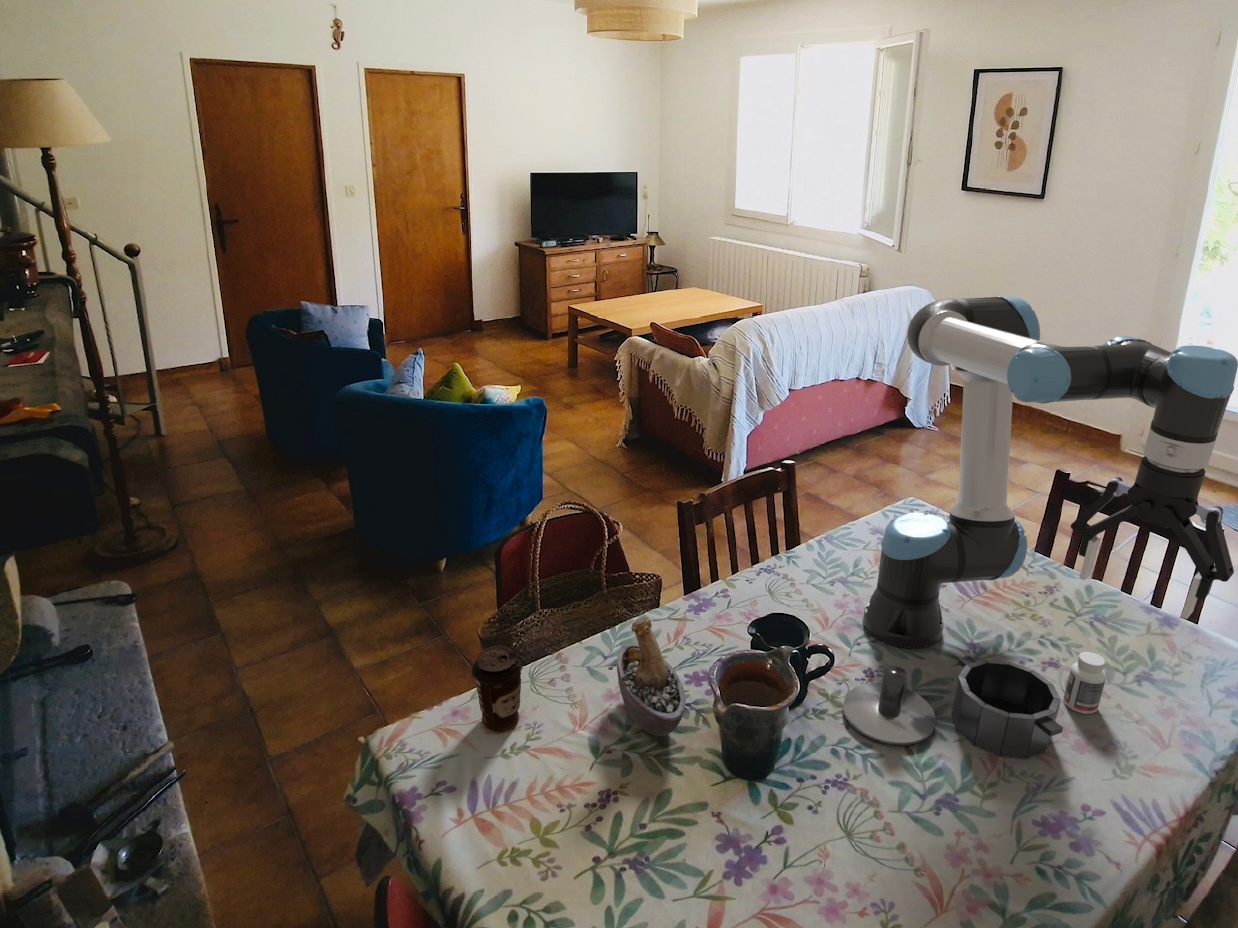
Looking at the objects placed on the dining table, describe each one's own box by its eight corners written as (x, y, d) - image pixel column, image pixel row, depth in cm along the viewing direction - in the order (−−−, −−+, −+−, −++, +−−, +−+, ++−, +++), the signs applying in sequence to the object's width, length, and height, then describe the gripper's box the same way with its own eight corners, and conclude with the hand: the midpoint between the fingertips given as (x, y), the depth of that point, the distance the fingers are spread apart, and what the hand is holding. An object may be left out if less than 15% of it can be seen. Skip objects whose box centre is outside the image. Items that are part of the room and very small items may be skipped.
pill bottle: (1103, 707, 146) (1116, 661, 142) (1086, 719, 143) (1099, 672, 140) (1073, 690, 150) (1085, 645, 146) (1056, 701, 148) (1067, 655, 144)
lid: (825, 702, 148) (830, 657, 144) (895, 681, 153) (901, 637, 149) (879, 758, 135) (887, 711, 131) (953, 734, 140) (962, 687, 137)
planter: (628, 679, 154) (627, 585, 146) (711, 709, 146) (716, 611, 138) (585, 727, 142) (582, 627, 134) (673, 762, 135) (676, 659, 127)
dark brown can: (536, 713, 146) (532, 650, 141) (511, 743, 139) (506, 679, 134) (493, 699, 149) (488, 638, 144) (466, 728, 142) (460, 665, 137)
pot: (924, 701, 148) (930, 663, 145) (990, 680, 153) (997, 644, 150) (1011, 779, 131) (1021, 738, 128) (1083, 753, 136) (1093, 713, 133)
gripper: (1067, 442, 120) (1036, 570, 129) (1277, 501, 103) (1225, 643, 112) (1087, 429, 125) (1057, 553, 133) (1292, 483, 108) (1241, 620, 117)
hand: (1134, 594), depth 123 cm, fingers open, 13 cm apart
